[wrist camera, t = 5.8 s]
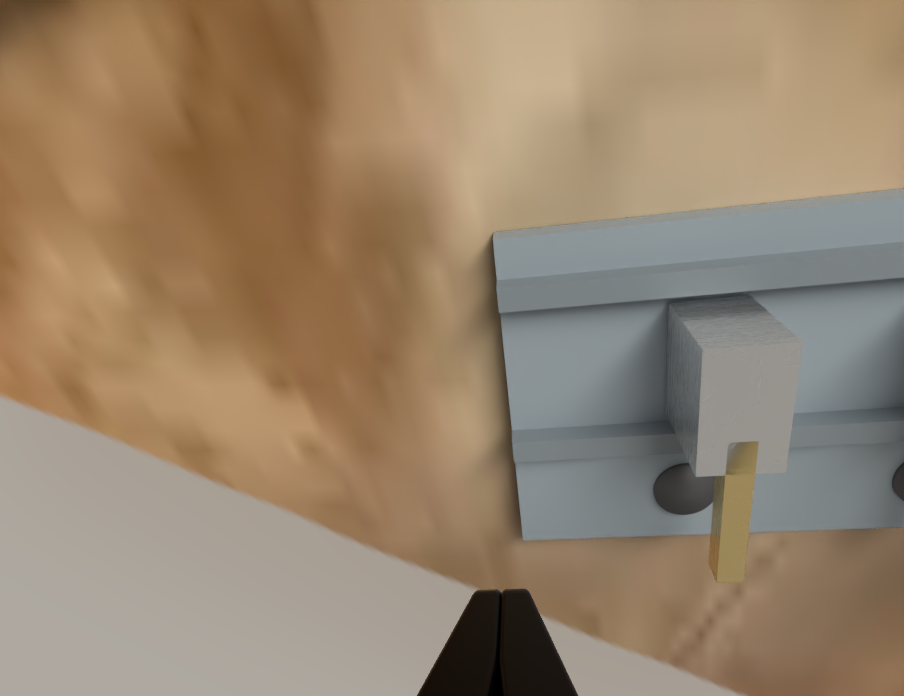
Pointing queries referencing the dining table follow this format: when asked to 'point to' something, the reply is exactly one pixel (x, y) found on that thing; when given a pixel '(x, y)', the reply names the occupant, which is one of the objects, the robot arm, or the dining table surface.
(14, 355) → the dining table surface
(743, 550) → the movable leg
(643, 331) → the board
